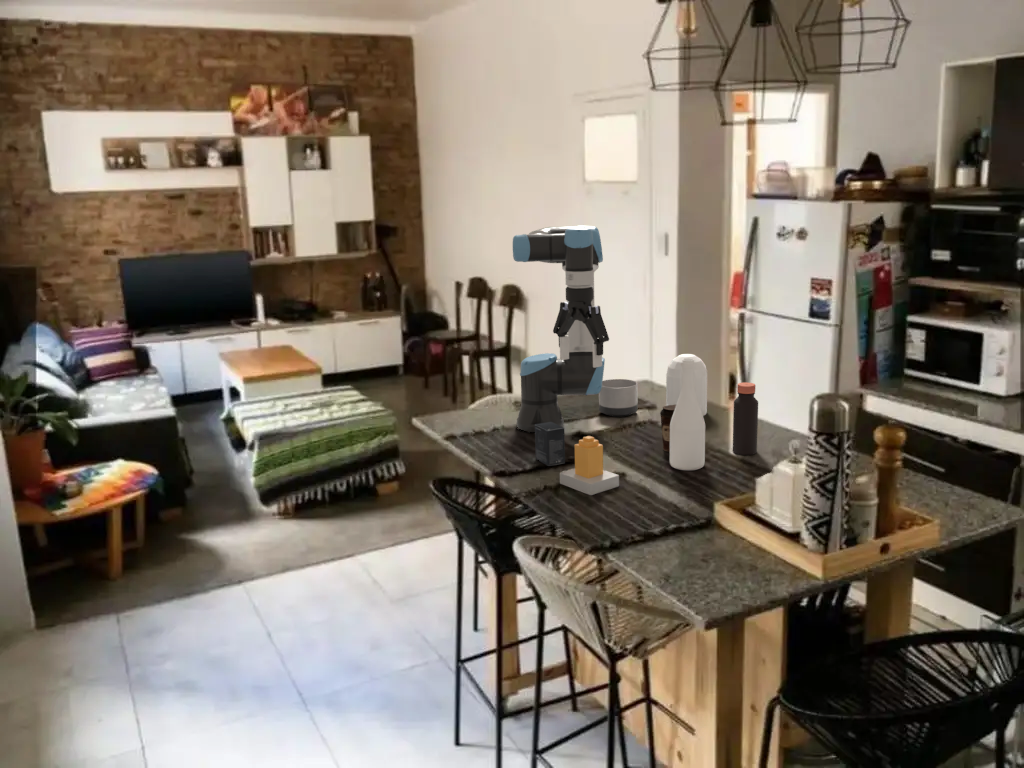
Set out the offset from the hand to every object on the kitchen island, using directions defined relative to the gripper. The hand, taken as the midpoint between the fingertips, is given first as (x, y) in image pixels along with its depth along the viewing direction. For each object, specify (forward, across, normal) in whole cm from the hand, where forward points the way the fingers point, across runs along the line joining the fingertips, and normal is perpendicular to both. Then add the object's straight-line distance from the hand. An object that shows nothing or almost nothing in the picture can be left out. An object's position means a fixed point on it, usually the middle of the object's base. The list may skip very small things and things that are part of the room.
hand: (580, 363), depth 249 cm
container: (+29, -15, +60) cm, 68 cm away
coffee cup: (+29, +10, +27) cm, 41 cm away
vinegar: (+29, +25, +40) cm, 55 cm away
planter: (+29, -30, +43) cm, 60 cm away
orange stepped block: (+26, +15, -11) cm, 32 cm away
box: (+29, -7, -6) cm, 30 cm away
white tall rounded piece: (+29, +22, +19) cm, 41 cm away
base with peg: (+29, +13, -11) cm, 34 cm away
